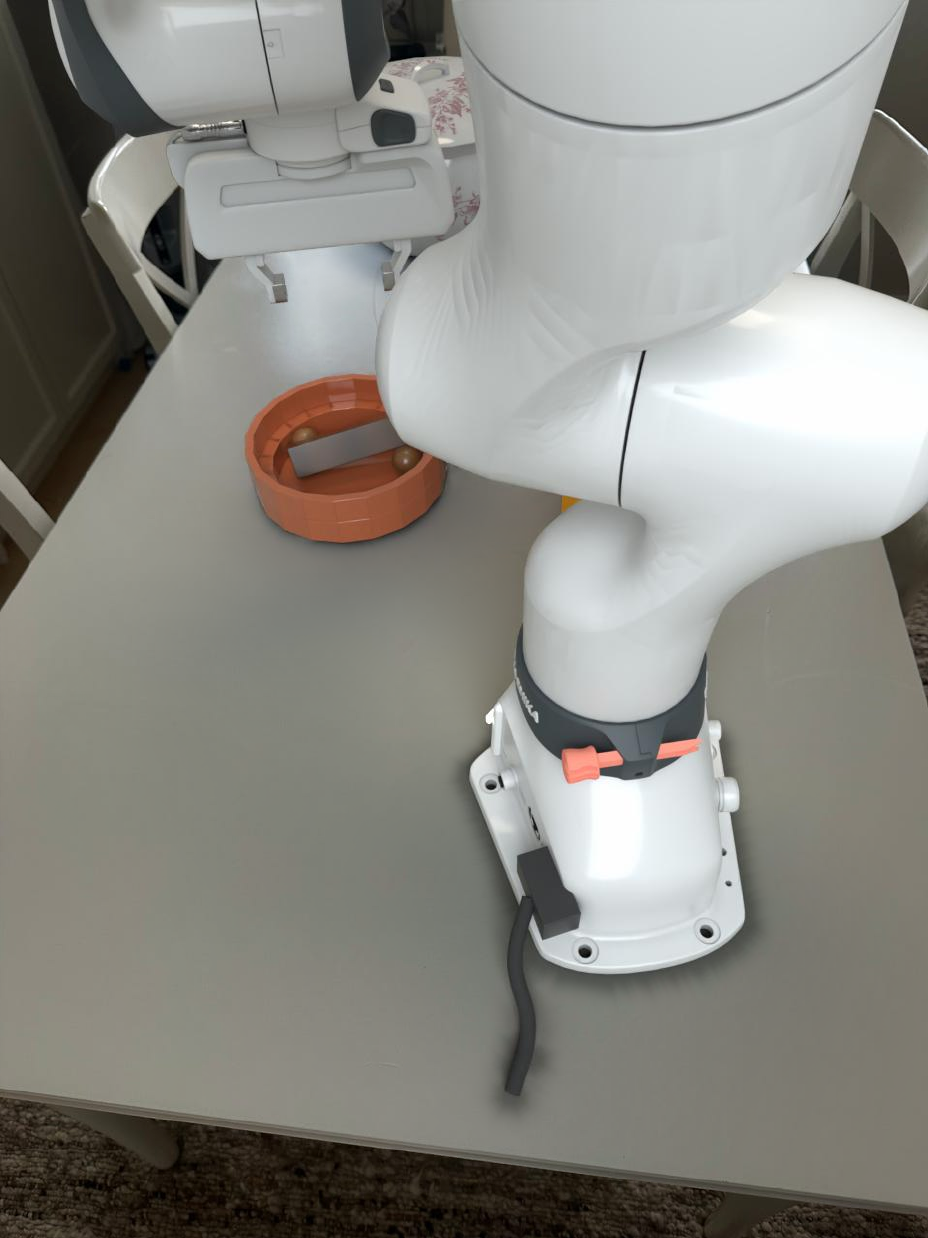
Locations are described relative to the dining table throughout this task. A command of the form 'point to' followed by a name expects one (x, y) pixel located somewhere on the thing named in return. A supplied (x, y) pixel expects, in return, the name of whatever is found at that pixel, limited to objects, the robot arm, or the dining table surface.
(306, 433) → the hazelnut
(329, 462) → the stick
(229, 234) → the robot arm
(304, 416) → the bowl
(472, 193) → the chamber pot
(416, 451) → the hazelnut
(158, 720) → the dining table surface
